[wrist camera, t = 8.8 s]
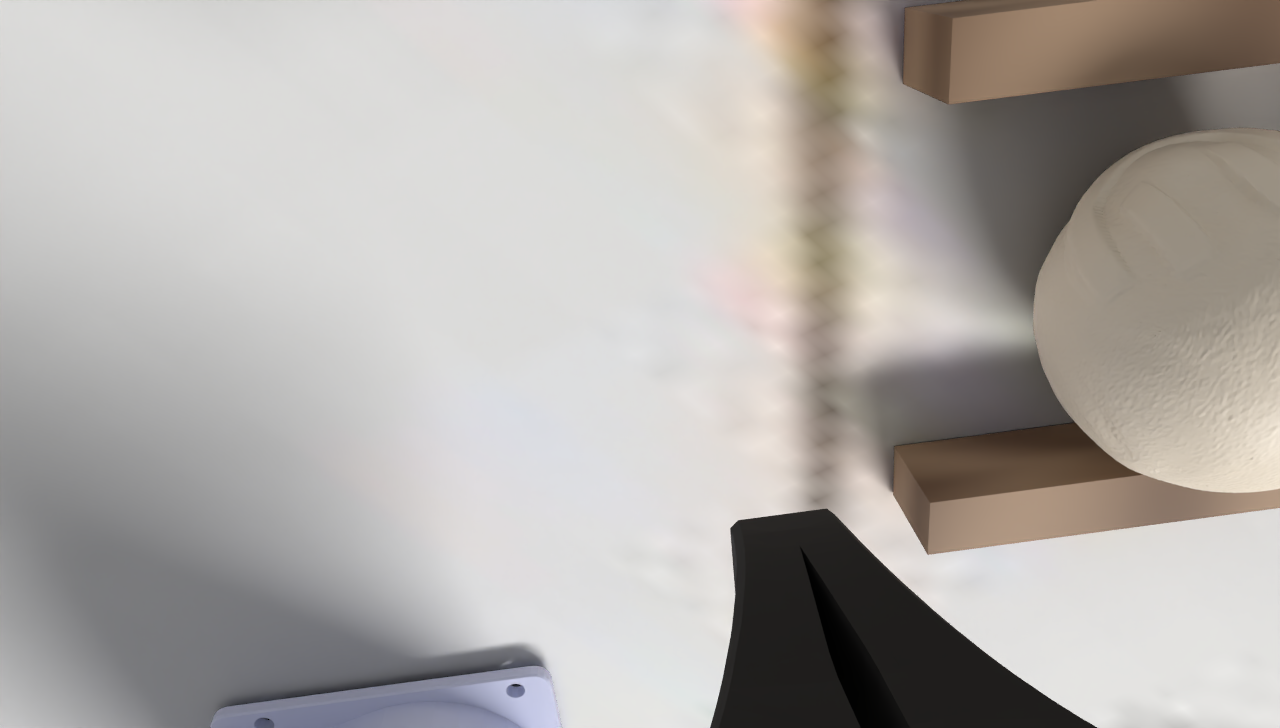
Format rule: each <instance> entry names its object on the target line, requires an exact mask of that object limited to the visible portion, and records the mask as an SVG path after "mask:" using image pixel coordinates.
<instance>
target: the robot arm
mask: <svg viewBox="0 0 1280 728" xmlns="http://www.w3.org/2000/svg"><path fill="white" fill-rule="evenodd" d="M730 530H731V543H732V556H733V568H734V581H735V594H736V595H735V605H734V615H733V624H732V632H731V638H730V644H729V649H728V654H727V659H726V665H725V670H724V675H723V680H722V685H721V689H720V693H719V697H718V701H717V705H716V709H715V713H714V716H713V720H712V723H711V727H710V728H1097V727H1095V726H1094V725H1092V724H1090V723H1088V722H1087V721H1085V720H1083V719H1081V718H1080V717H1078V716H1077V715H1075V714H1073V713H1072V712H1070V711H1069V710H1067V709H1065V708H1064V707H1062V706H1061V705H1059V704H1057V703H1056V702H1054V701H1053V700H1051V699H1050V698H1048V697H1047V696H1045V695H1044V694H1042V693H1041V692H1039V691H1038V690H1037V689H1035V688H1034V687H1032V686H1031V685H1029V684H1028V683H1026V682H1025V681H1023V680H1022V679H1020V678H1019V677H1017V676H1016V675H1015V674H1013V673H1012V672H1010V671H1009V670H1008V669H1006V668H1005V667H1004V666H1002V665H1001V664H1000V663H998V662H997V661H996V660H994V659H993V658H992V657H990V656H989V655H988V654H986V653H985V652H984V651H982V650H981V649H980V648H979V647H977V646H976V645H975V644H974V643H972V642H971V641H970V640H969V639H967V638H966V637H965V636H964V635H962V634H961V633H960V632H959V631H957V630H956V629H955V628H954V627H953V626H951V625H950V624H949V623H948V622H947V621H945V620H944V619H943V618H942V617H941V616H940V615H938V614H937V613H936V612H935V611H934V610H933V609H931V608H930V607H929V606H928V605H927V604H926V603H925V602H924V601H923V600H921V599H920V598H919V597H918V596H917V595H916V594H915V593H914V592H912V591H911V590H910V589H909V588H908V587H907V586H906V585H905V584H904V583H902V582H901V581H900V580H899V579H898V578H897V577H896V576H895V575H894V574H893V573H892V572H891V571H890V570H889V569H888V568H887V567H886V566H885V565H884V564H882V563H881V562H880V561H879V560H878V559H877V558H876V557H875V556H874V555H873V554H872V553H871V552H870V551H869V550H868V549H867V548H866V547H865V546H864V545H863V544H862V543H861V542H860V541H859V540H858V539H857V538H856V537H855V535H854V534H853V533H852V532H851V531H850V530H849V529H848V528H847V527H846V526H845V525H844V524H843V523H842V522H841V521H840V520H839V519H838V518H837V517H836V516H835V515H834V514H833V513H832V512H831V511H829V510H828V509H820V510H813V511H805V512H798V513H790V514H783V515H775V516H768V517H760V518H753V519H745V520H738V521H737V522H736V523H735V524H734V525H733V526H732V527H731V528H730ZM512 684H520V685H522V686H519V687H513V686H511V685H512ZM263 718H268V719H270V720H266V719H263ZM210 728H562V724H561V720H560V715H559V710H558V705H557V700H556V695H555V691H554V686H553V681H552V676H551V674H550V672H549V671H548V670H546V669H545V668H543V667H540V666H526V667H518V668H511V669H503V670H496V671H488V672H481V673H474V674H466V675H459V676H451V677H444V678H436V679H429V680H421V681H414V682H407V683H399V684H392V685H384V686H377V687H369V688H362V689H354V690H347V691H340V692H332V693H325V694H317V695H310V696H302V697H295V698H287V699H280V700H273V701H265V702H258V703H250V704H243V705H235V706H228V707H224V708H221V709H219V710H218V711H217V712H216V713H215V715H214V717H213V719H212V722H211V724H210Z"/></svg>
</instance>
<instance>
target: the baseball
mask: <svg viewBox="0 0 1280 728" xmlns="http://www.w3.org/2000/svg"><path fill="white" fill-rule="evenodd" d="M1033 314H1034V315H1033V328H1034V329H1033V331H1034V336H1035V341H1036V346H1037V349H1038V352H1039V357H1040V361H1041V364H1042V367H1043V369H1044V372H1045V375H1046V377H1047V379H1048V381H1049V383H1050V385H1051V388H1052V390H1053V391H1054V394H1055V395H1056V397H1057V398H1058V400H1059V402H1060V403H1061V405H1062V407H1063V408H1064V409H1065V411H1066V412H1067V413H1068V415H1069V416H1070V417H1071V418H1072V419H1073V420H1074V421H1075V422H1076V424H1077V425H1078V426H1079V427H1080V428H1081V429H1082V430H1083V432H1085V433H1086V434H1087V435H1088V436H1089V437H1090V438H1091V439H1092V440H1093V441H1094V442H1095V443H1096V444H1097V445H1098V446H1099V447H1100V448H1102V449H1103V450H1104V451H1105V452H1106V453H1107V454H1108V455H1110V456H1111V457H1113V458H1114V459H1115V460H1116V461H1118V462H1119V463H1121V464H1122V465H1124V466H1126V467H1127V468H1129V469H1131V470H1133V471H1135V472H1138V473H1141V474H1143V475H1146V476H1148V477H1151V478H1155V479H1157V480H1162V481H1165V482H1168V483H1172V484H1176V485H1179V486H1183V487H1188V488H1192V489H1198V490H1202V491H1211V492H1225V493H1226V492H1227V493H1229V492H1231V493H1244V492H1247V493H1249V492H1261V491H1268V490H1275V489H1280V131H1275V130H1268V129H1258V128H1223V129H1214V130H1202V131H1195V132H1189V133H1183V134H1178V135H1174V136H1170V137H1166V138H1163V139H1160V140H1157V141H1154V142H1151V143H1149V144H1146V145H1144V146H1142V147H1140V148H1138V149H1136V150H1134V151H1132V152H1130V153H1129V154H1127V155H1126V156H1124V157H1123V158H1121V159H1119V160H1118V161H1117V162H1115V163H1114V164H1113V165H1111V166H1110V167H1109V168H1108V169H1107V170H1105V171H1104V172H1103V173H1102V174H1101V175H1100V176H1099V177H1098V178H1097V179H1096V180H1095V182H1094V183H1093V184H1092V185H1091V186H1090V188H1089V189H1088V190H1087V191H1086V193H1085V194H1084V195H1083V196H1082V198H1081V200H1080V201H1079V203H1078V204H1077V206H1076V208H1075V210H1074V212H1073V214H1072V216H1071V219H1070V221H1069V222H1068V223H1067V224H1066V225H1065V227H1064V228H1063V230H1062V231H1061V232H1060V234H1059V235H1058V237H1057V238H1056V241H1055V242H1054V244H1053V246H1052V248H1051V250H1050V252H1049V254H1048V255H1047V258H1046V260H1045V261H1044V264H1043V265H1042V268H1041V270H1040V272H1039V275H1038V279H1037V283H1036V289H1035V296H1034V313H1033Z"/></svg>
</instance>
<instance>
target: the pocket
mask: <svg viewBox="0 0 1280 728" xmlns="http://www.w3.org/2000/svg"><path fill="white" fill-rule="evenodd" d="M1276 63H1280V0H963V1H955V2H947V3H939V4H931V5H923V6H915V7H907V8H905V23H904V65H903V84H904V85H907V86H909V87H911V88H913V89H916V90H918V91H920V92H922V93H924V94H927V95H929V96H931V97H933V98H936V99H938V100H940V101H942V102H944V103H947V104H956V103H964V102H972V101H980V100H988V99H996V98H1004V97H1012V96H1020V95H1028V94H1036V93H1044V92H1052V91H1060V90H1068V89H1076V88H1084V87H1092V86H1100V85H1108V84H1116V83H1124V82H1132V81H1140V80H1148V79H1156V78H1164V77H1172V76H1180V75H1188V74H1196V73H1204V72H1212V71H1220V70H1228V69H1236V68H1244V67H1252V66H1260V65H1268V64H1276ZM893 495H894V497H895V499H896V500H897V502H898V504H899V506H900V507H901V509H902V511H903V512H904V514H905V516H906V518H907V519H908V521H909V523H910V525H911V526H912V528H913V530H914V532H915V533H916V535H917V537H918V539H919V540H920V542H921V544H922V545H923V547H924V549H925V551H926V552H927V554H928V555H929V554H937V553H944V552H952V551H959V550H967V549H974V548H982V547H989V546H997V545H1004V544H1012V543H1019V542H1027V541H1034V540H1042V539H1049V538H1057V537H1064V536H1072V535H1079V534H1087V533H1094V532H1102V531H1109V530H1117V529H1124V528H1132V527H1139V526H1147V525H1154V524H1162V523H1169V522H1177V521H1184V520H1192V519H1199V518H1207V517H1214V516H1222V515H1229V514H1237V513H1244V512H1252V511H1259V510H1267V509H1274V508H1280V489H1275V490H1268V491H1261V492H1249V493H1247V492H1244V493H1231V492H1229V493H1227V492H1226V493H1225V492H1211V491H1202V490H1198V489H1192V488H1188V487H1183V486H1179V485H1176V484H1172V483H1168V482H1165V481H1162V480H1157V479H1155V478H1151V477H1148V476H1146V475H1143V474H1141V473H1138V472H1135V471H1133V470H1131V469H1129V468H1127V467H1126V466H1124V465H1122V464H1121V463H1119V462H1118V461H1116V460H1115V459H1114V458H1113V457H1111V456H1110V455H1108V454H1107V453H1106V452H1105V451H1104V450H1103V449H1102V448H1100V447H1099V446H1098V445H1097V444H1096V443H1095V442H1094V441H1093V440H1092V439H1091V438H1090V437H1089V436H1088V435H1087V434H1086V433H1085V432H1083V430H1082V429H1081V428H1080V427H1079V426H1078V425H1077V424H1076V423H1069V424H1062V425H1054V426H1046V427H1039V428H1031V429H1023V430H1016V431H1008V432H1001V433H993V434H985V435H978V436H970V437H962V438H955V439H947V440H940V441H932V442H924V443H917V444H909V445H901V446H894V486H893Z"/></svg>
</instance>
